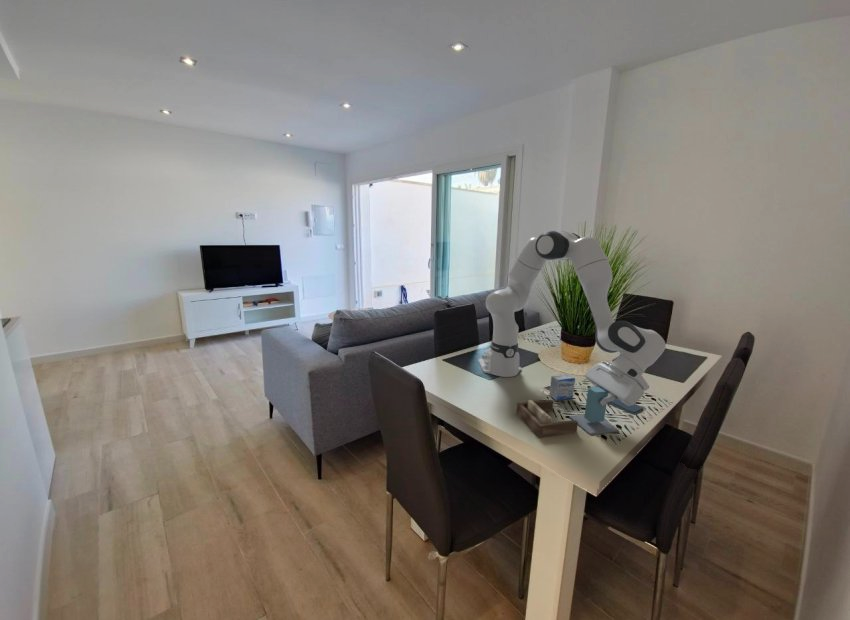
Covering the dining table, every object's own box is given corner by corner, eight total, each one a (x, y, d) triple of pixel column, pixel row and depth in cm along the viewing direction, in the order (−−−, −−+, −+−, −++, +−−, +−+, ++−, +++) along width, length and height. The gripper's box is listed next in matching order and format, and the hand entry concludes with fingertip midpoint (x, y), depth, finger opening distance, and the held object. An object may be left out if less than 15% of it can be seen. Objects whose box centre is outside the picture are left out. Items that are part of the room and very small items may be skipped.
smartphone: (634, 413, 126) (595, 395, 138) (633, 417, 126) (594, 398, 138) (644, 407, 130) (606, 390, 142) (643, 411, 130) (605, 394, 142)
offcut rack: (516, 413, 125) (517, 402, 124) (550, 409, 128) (551, 399, 127) (538, 437, 110) (540, 426, 110) (576, 432, 114) (578, 421, 113)
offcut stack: (526, 417, 123) (528, 400, 121) (535, 416, 123) (537, 399, 122) (540, 431, 114) (542, 413, 113) (550, 430, 115) (552, 412, 113)
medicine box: (555, 400, 135) (558, 380, 133) (548, 395, 139) (551, 375, 137) (573, 398, 137) (575, 378, 135) (565, 393, 141) (568, 373, 139)
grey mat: (568, 417, 123) (569, 415, 123) (595, 414, 125) (596, 413, 125) (589, 435, 113) (590, 433, 112) (618, 431, 115) (618, 429, 115)
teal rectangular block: (584, 417, 120) (588, 387, 117) (596, 415, 121) (601, 386, 118) (591, 422, 116) (595, 392, 114) (603, 421, 117) (608, 391, 115)
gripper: (598, 354, 126) (570, 381, 126) (644, 377, 106) (612, 409, 106) (606, 365, 128) (580, 391, 128) (654, 389, 108) (622, 421, 108)
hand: (595, 400), depth 117 cm, fingers closed on teal rectangular block, 3 cm apart
